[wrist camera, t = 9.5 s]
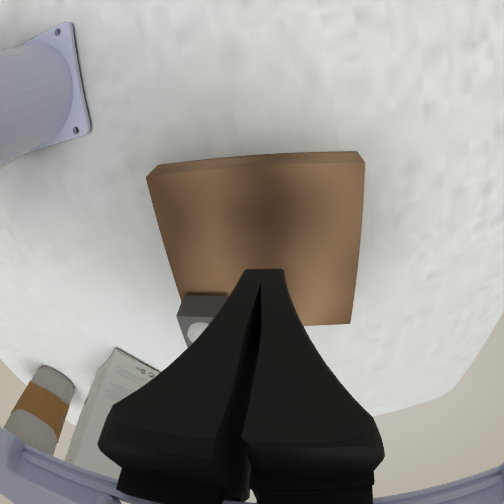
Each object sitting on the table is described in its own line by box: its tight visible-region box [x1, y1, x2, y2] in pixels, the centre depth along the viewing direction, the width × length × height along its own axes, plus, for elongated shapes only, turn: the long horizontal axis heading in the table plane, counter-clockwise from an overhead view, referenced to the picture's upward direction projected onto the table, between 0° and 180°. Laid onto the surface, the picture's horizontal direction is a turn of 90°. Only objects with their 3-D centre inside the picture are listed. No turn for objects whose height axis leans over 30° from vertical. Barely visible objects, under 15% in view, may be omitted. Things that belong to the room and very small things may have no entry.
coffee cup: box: [4, 366, 74, 456], centre depth 32 cm, size 8×8×15 cm
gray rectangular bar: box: [177, 295, 227, 347], centre depth 24 cm, size 12×3×2 cm, turn 5°
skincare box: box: [65, 348, 159, 479], centre depth 27 cm, size 8×6×15 cm
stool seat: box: [146, 152, 365, 326], centre depth 23 cm, size 12×22×2 cm, turn 6°
